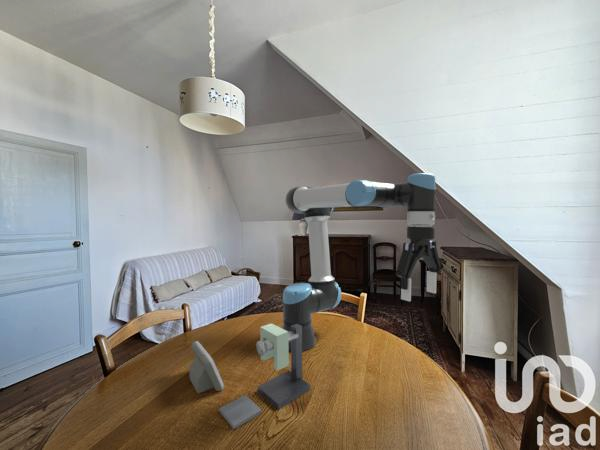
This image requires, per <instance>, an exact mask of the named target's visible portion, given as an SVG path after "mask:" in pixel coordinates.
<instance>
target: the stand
mask: <svg viewBox="0 0 600 450" xmlns="http://www.w3.org/2000/svg"><path fill="white" fill-rule="evenodd" d="M288 342H291V351H290V361H291V362H290V370H287V371H285V372H283V373H281V374H279V375H277V376H275V377H273V378H271V379H269V380H268V381H265V382H264V383H262V384H260V385H258V386H257V392H258V393H259V395H261V396H262V397H263V398H264V399H266V400H267V401H268V402H269V403H270V404H271V405H272V406H273V407H274V408H276V409H277V410H280V409H282V408H283V407H285V406H286V405H288V404H290V403H291V402H294V401H295V400H296V399H297V398H300V397H301V396H302V395H305V394H306V393H307V392H309V391H311V384H310V383H309V382H307V381H305V380H304V379H303V351H302V326H301V325H299V324H295V325H292V326H291V331H289V332H288ZM255 347H256V351H257V353H258V355H259V356H260V357H261V356H263V355H265V354H266V352H267V351H269V350H272V349H274V343H272V342H271V341H269V340H266V341H262V340H258V341H257V342H256V345H255Z"/></svg>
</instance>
